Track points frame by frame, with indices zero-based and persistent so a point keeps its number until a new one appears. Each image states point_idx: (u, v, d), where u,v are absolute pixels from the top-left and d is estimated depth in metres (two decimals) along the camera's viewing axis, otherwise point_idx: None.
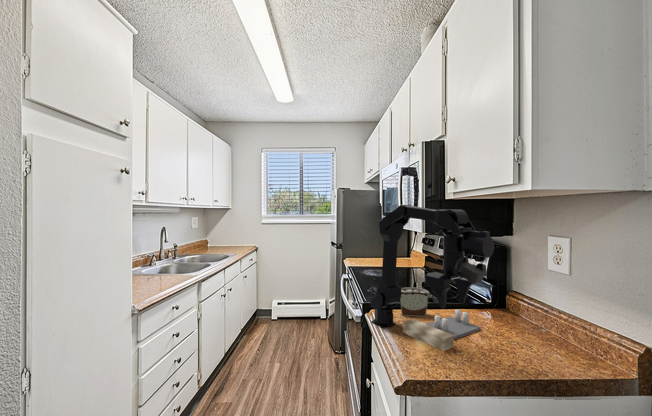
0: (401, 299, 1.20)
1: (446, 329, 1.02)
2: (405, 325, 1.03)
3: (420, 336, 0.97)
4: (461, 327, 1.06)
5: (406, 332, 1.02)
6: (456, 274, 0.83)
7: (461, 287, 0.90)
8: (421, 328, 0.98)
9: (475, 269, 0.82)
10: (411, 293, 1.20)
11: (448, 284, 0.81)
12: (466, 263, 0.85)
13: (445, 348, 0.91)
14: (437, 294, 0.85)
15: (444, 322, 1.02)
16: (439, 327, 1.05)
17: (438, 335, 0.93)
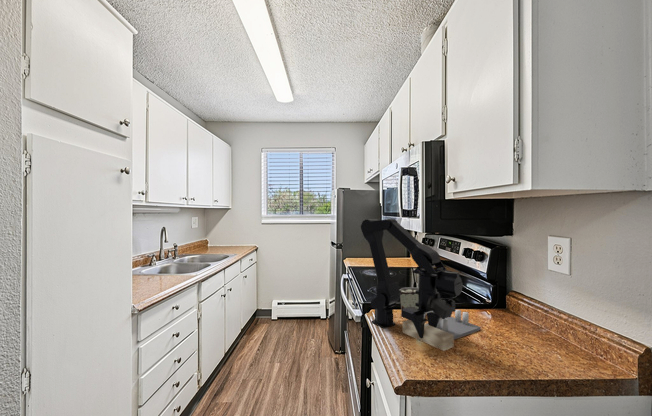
0: (401, 299, 1.20)
1: (446, 329, 1.02)
2: (405, 325, 1.03)
3: None
4: (461, 327, 1.06)
5: (406, 332, 1.02)
6: (428, 309, 0.95)
7: (431, 319, 1.00)
8: None
9: (445, 305, 0.93)
10: (411, 293, 1.20)
11: (421, 319, 0.92)
12: (438, 299, 0.96)
13: (445, 348, 0.91)
14: (416, 325, 0.97)
15: (444, 322, 1.02)
16: (439, 327, 1.05)
17: (438, 334, 0.93)
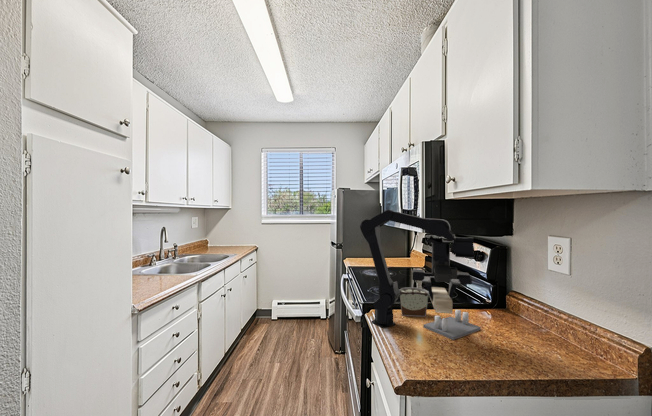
0: (401, 299, 1.20)
1: (446, 329, 1.02)
2: None
3: None
4: (461, 327, 1.06)
5: None
6: (432, 273, 1.01)
7: (449, 288, 1.02)
8: (434, 292, 1.04)
9: (442, 270, 0.96)
10: (411, 293, 1.20)
11: (420, 279, 1.01)
12: (443, 265, 0.99)
13: (438, 309, 0.95)
14: None
15: (444, 322, 1.02)
16: (439, 327, 1.05)
17: (437, 297, 0.98)
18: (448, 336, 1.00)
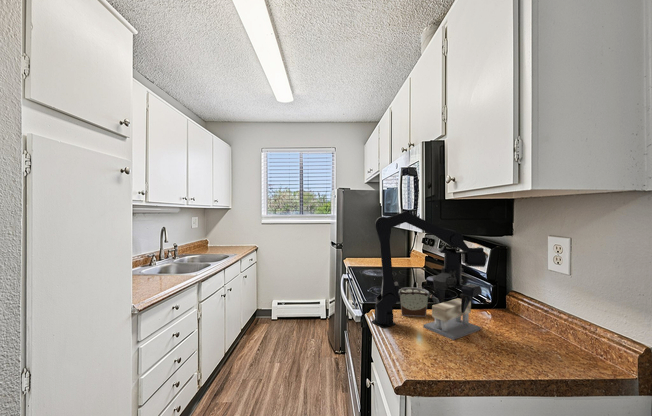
0: (401, 299, 1.20)
1: (446, 329, 1.02)
2: None
3: None
4: (461, 327, 1.06)
5: None
6: None
7: None
8: (447, 301, 1.09)
9: (440, 278, 1.04)
10: (411, 293, 1.20)
11: (431, 284, 1.11)
12: (447, 274, 1.05)
13: (434, 315, 1.04)
14: None
15: (444, 322, 1.02)
16: (439, 327, 1.05)
17: (439, 305, 1.06)
18: (448, 336, 1.00)
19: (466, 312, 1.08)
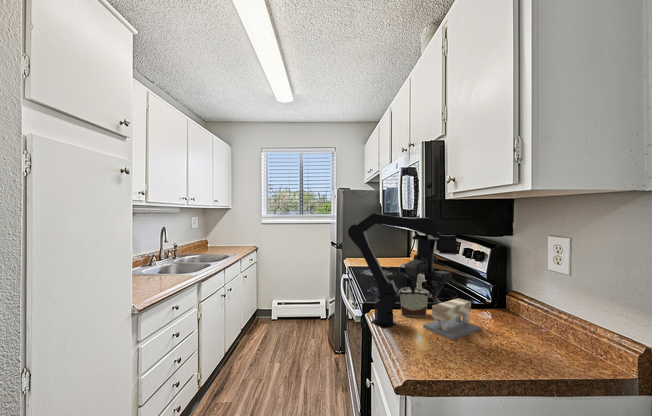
0: (401, 299, 1.20)
1: (446, 329, 1.02)
2: None
3: None
4: (461, 327, 1.06)
5: None
6: None
7: None
8: (447, 301, 1.09)
9: (412, 264, 1.03)
10: (411, 293, 1.20)
11: (404, 271, 1.11)
12: (419, 261, 1.05)
13: (434, 315, 1.04)
14: None
15: (444, 322, 1.02)
16: (439, 327, 1.05)
17: (439, 305, 1.06)
18: (448, 336, 1.00)
19: (466, 312, 1.08)
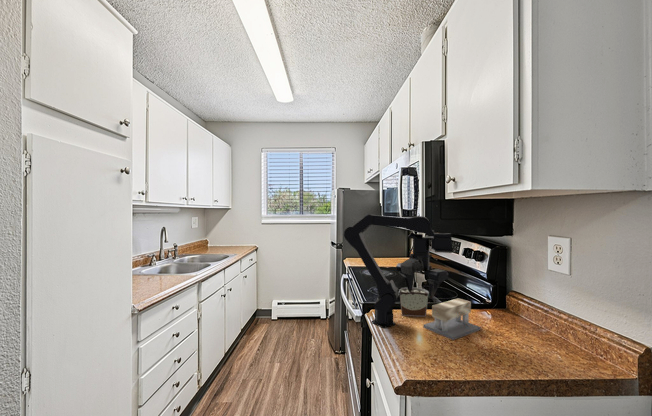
0: (401, 299, 1.20)
1: (446, 329, 1.02)
2: None
3: None
4: (461, 327, 1.06)
5: None
6: None
7: None
8: (447, 301, 1.09)
9: (407, 263, 1.03)
10: (411, 293, 1.20)
11: (400, 270, 1.11)
12: (415, 259, 1.05)
13: (434, 315, 1.04)
14: None
15: (444, 322, 1.02)
16: (439, 327, 1.05)
17: (439, 305, 1.06)
18: (448, 336, 1.00)
19: (466, 312, 1.08)
